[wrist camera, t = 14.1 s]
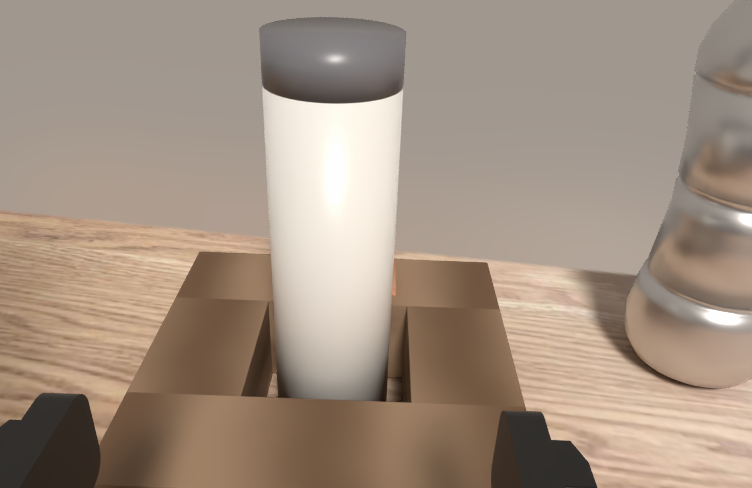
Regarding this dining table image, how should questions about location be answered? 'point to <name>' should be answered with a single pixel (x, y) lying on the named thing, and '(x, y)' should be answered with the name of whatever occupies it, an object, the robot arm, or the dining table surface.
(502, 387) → the socket block
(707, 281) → the plastic bottle
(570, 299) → the dining table surface
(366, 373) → the plug
